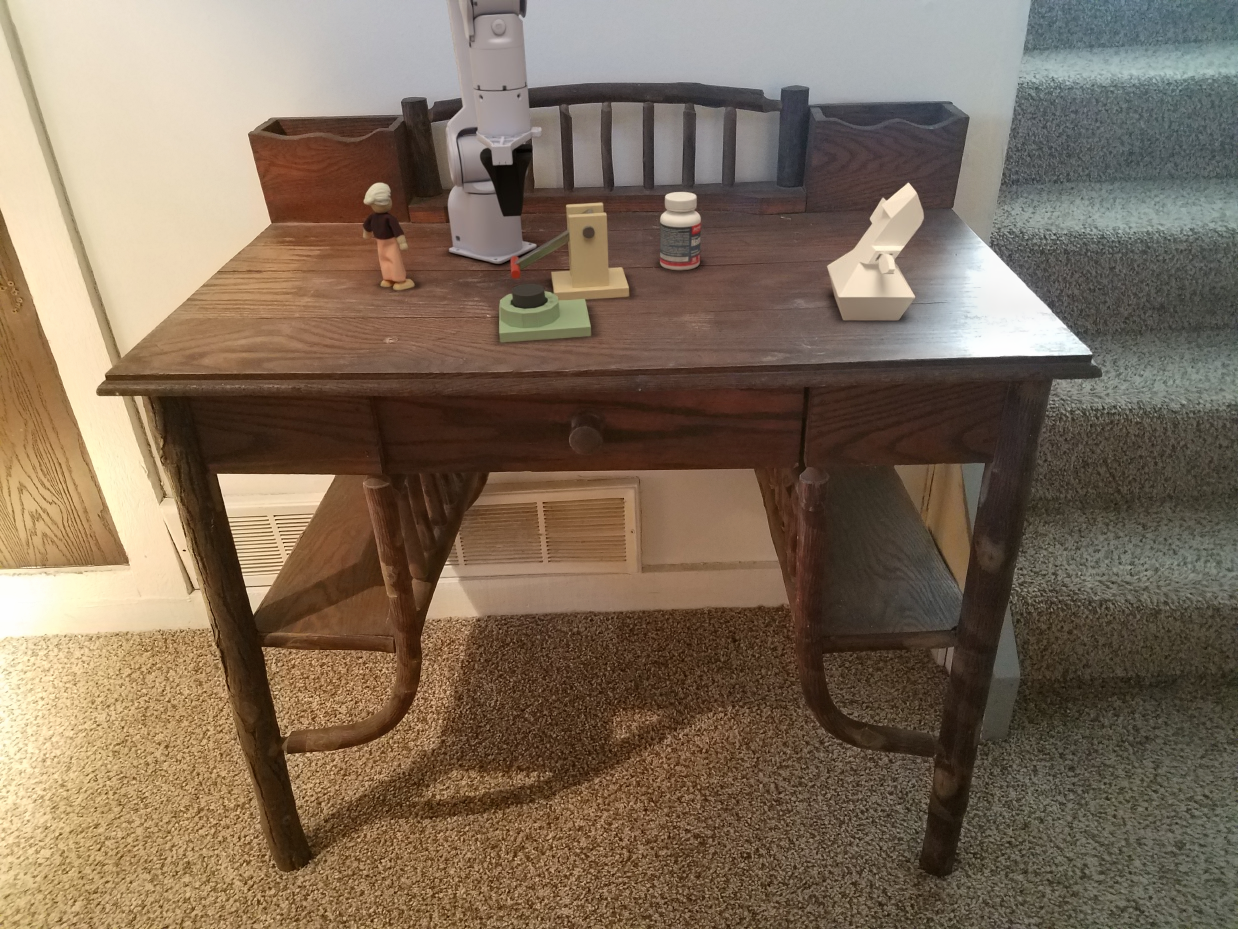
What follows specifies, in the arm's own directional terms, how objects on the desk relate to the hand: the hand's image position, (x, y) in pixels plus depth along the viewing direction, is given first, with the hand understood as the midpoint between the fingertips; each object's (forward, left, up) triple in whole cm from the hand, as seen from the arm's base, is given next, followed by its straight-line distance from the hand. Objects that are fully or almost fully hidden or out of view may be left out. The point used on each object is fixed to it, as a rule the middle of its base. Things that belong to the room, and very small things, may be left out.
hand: (512, 214), depth 99 cm
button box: (+7, -4, -10) cm, 13 cm away
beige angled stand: (+36, +19, -11) cm, 42 cm away
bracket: (+5, +7, -10) cm, 14 cm away
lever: (+2, +5, -6) cm, 8 cm away
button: (+6, -5, -8) cm, 11 cm away
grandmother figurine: (-17, -5, -11) cm, 21 cm away
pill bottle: (+10, +20, -11) cm, 25 cm away
